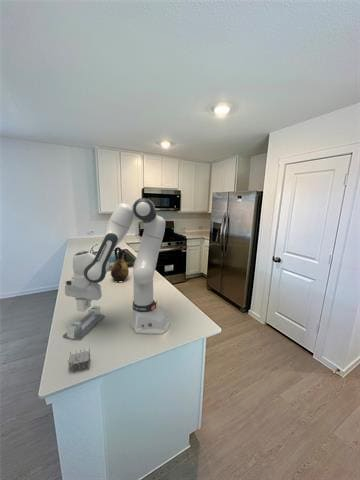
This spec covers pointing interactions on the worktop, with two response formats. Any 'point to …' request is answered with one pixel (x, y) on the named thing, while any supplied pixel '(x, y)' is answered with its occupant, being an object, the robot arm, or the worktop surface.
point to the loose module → (82, 304)
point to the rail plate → (84, 324)
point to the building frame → (82, 358)
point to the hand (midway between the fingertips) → (83, 304)
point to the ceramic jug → (119, 266)
